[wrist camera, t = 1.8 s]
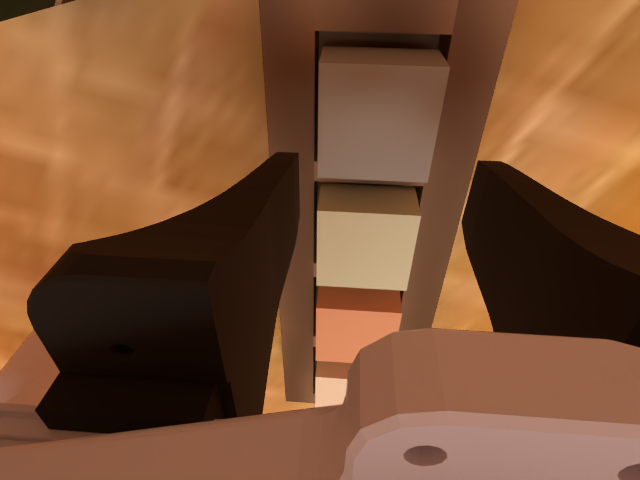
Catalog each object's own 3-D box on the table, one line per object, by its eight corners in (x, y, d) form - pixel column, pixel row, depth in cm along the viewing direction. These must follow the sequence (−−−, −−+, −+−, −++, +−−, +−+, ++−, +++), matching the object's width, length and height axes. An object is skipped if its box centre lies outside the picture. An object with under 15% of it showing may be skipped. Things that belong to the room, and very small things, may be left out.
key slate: (321, 151, 19) (317, 177, 17) (323, 45, 16) (318, 62, 14) (420, 155, 18) (427, 182, 17) (438, 49, 16) (450, 67, 14)
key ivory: (317, 384, 30) (315, 415, 28) (318, 344, 27) (315, 377, 25) (379, 388, 29) (381, 420, 28) (386, 349, 27) (388, 382, 25)
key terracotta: (318, 328, 26) (315, 360, 24) (319, 276, 23) (316, 307, 21) (389, 333, 26) (392, 365, 24) (398, 281, 23) (402, 313, 21)
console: (291, 366, 33) (285, 401, 31) (272, -19, 17) (258, -9, 15) (405, 374, 32) (409, 410, 30) (495, -13, 17) (518, -2, 14)
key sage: (320, 254, 22) (316, 285, 20) (321, 182, 20) (317, 210, 18) (402, 258, 22) (406, 290, 20) (414, 187, 19) (421, 216, 18)
